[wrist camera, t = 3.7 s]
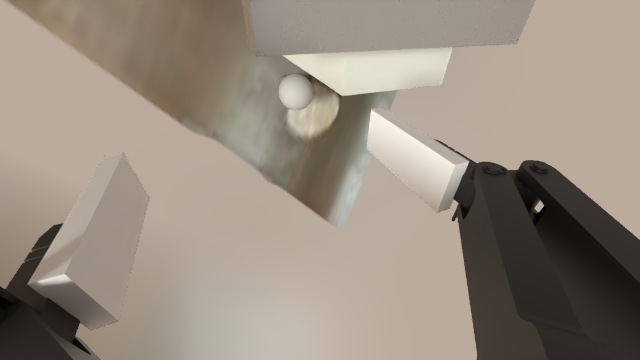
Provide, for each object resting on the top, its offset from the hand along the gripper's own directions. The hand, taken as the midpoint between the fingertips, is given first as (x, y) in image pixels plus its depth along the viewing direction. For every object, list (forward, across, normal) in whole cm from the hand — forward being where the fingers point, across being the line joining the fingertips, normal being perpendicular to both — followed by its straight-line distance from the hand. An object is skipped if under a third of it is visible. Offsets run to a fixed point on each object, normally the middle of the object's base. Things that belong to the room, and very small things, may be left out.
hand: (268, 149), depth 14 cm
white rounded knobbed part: (+39, +10, -7) cm, 41 cm away
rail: (+9, +13, +5) cm, 16 cm away
